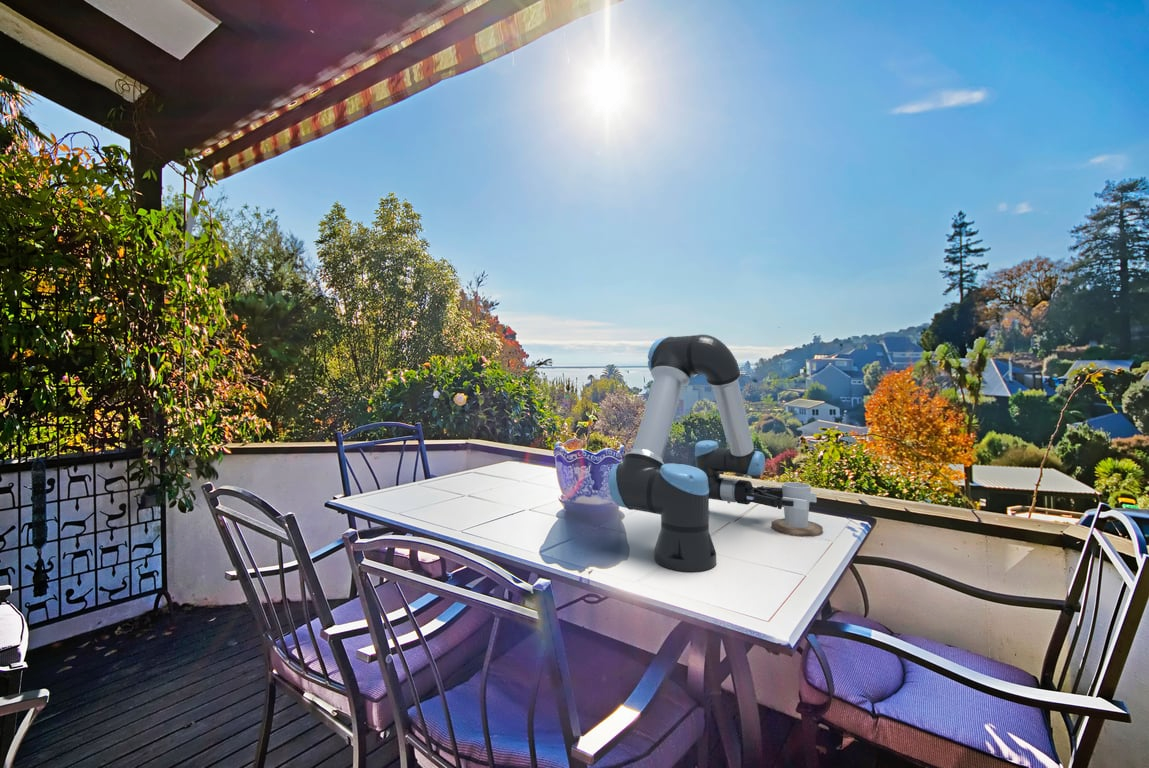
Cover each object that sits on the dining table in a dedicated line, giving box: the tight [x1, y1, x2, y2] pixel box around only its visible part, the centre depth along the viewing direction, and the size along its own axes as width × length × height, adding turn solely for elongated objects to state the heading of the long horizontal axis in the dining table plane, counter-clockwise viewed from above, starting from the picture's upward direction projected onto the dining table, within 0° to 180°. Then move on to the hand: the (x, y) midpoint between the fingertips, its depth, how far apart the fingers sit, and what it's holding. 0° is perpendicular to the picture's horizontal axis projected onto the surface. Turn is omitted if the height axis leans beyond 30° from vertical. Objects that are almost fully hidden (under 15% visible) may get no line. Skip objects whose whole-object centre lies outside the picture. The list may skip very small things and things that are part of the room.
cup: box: [781, 481, 812, 528], centre depth 146 cm, size 8×8×12 cm
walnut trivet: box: [771, 518, 824, 537], centre depth 146 cm, size 14×14×1 cm
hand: (811, 501), depth 143 cm, fingers open, 10 cm apart
